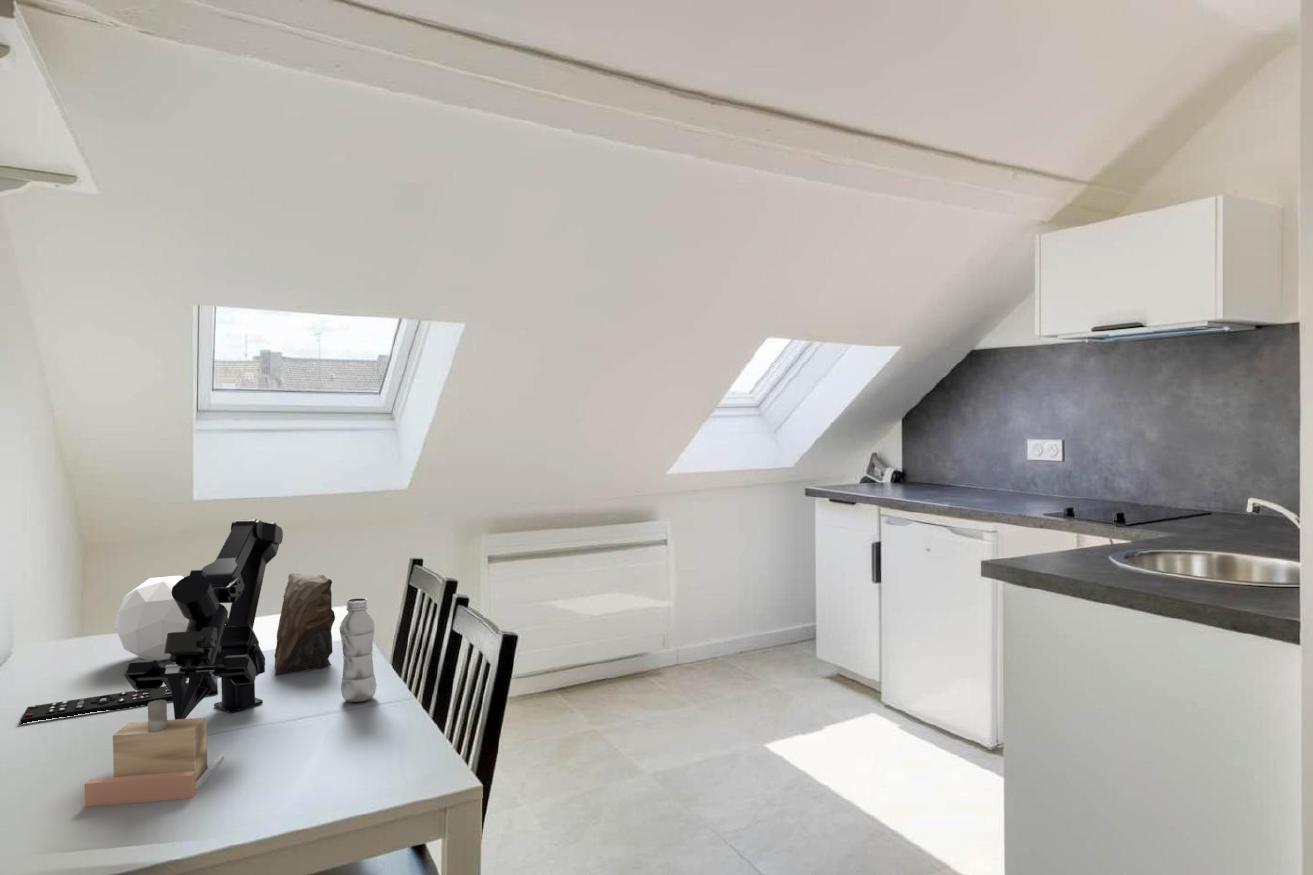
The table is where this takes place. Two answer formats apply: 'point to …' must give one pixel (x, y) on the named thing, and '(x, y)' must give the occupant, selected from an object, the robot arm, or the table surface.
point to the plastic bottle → (357, 652)
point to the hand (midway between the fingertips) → (178, 721)
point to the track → (145, 787)
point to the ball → (150, 618)
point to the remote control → (97, 704)
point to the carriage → (160, 745)
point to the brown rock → (305, 625)
